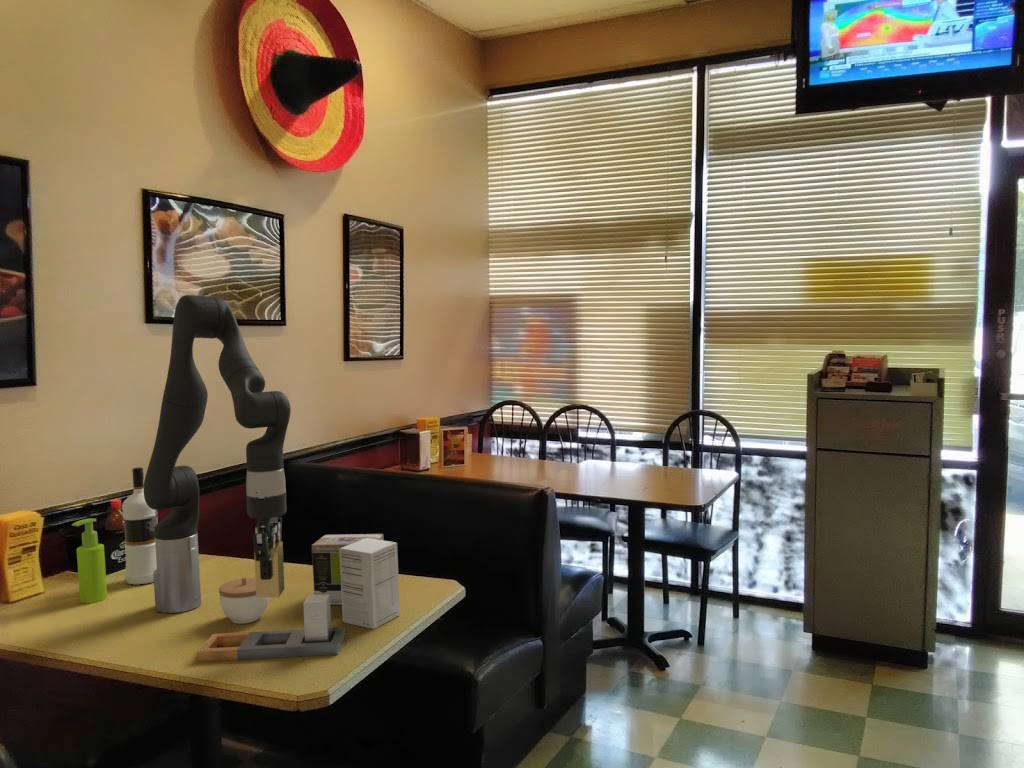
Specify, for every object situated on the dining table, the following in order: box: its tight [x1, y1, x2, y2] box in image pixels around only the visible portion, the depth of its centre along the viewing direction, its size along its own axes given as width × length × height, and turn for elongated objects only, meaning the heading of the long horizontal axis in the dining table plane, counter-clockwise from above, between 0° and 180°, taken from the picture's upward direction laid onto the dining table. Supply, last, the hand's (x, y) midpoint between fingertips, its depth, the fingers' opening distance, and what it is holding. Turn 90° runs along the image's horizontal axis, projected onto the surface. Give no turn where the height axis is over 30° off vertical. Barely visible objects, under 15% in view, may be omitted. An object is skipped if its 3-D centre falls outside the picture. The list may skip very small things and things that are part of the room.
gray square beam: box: [302, 594, 332, 643], centre depth 157 cm, size 4×4×10 cm
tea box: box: [311, 533, 385, 606], centre depth 184 cm, size 15×10×15 cm, turn 84°
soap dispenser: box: [71, 517, 108, 604], centre depth 188 cm, size 6×7×20 cm
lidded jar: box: [218, 576, 270, 625], centre depth 173 cm, size 11×11×9 cm
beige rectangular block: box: [253, 540, 285, 598], centre depth 155 cm, size 4×4×10 cm
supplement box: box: [339, 538, 401, 630], centre depth 171 cm, size 10×9×17 cm
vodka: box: [121, 467, 159, 586], centre depth 202 cm, size 9×9×30 cm
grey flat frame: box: [197, 626, 346, 663], centre depth 156 cm, size 27×9×2 cm, turn 94°
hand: (269, 574), depth 155 cm, fingers closed on beige rectangular block, 4 cm apart
